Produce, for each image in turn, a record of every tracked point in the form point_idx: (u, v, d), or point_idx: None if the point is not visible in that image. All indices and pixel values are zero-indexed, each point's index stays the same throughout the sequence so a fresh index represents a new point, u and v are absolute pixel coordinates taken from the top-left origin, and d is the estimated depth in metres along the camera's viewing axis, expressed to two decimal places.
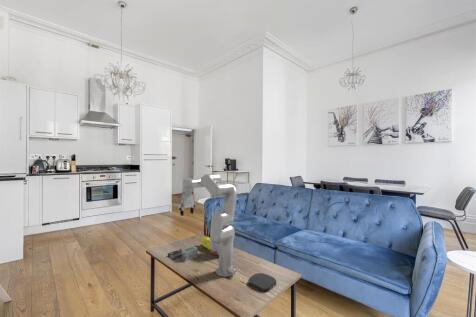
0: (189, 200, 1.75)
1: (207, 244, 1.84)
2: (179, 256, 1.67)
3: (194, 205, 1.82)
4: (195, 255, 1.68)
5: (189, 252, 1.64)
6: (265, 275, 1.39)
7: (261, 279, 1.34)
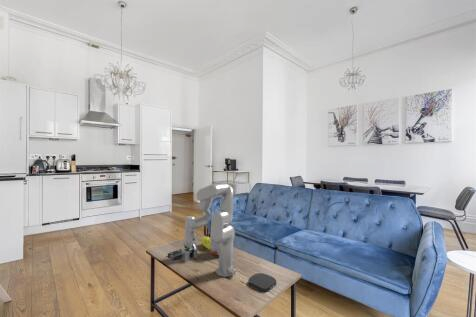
0: None
1: (207, 244, 1.85)
2: (179, 256, 1.67)
3: None
4: (195, 255, 1.68)
5: (189, 252, 1.64)
6: (265, 275, 1.39)
7: (261, 279, 1.34)
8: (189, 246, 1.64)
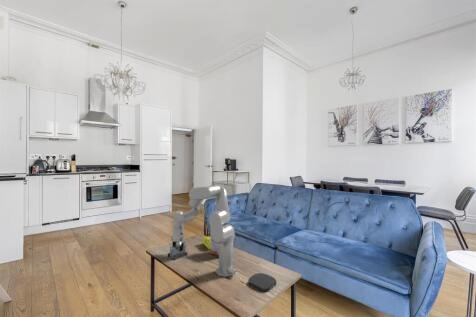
0: None
1: (207, 243, 1.86)
2: (179, 256, 1.67)
3: None
4: (183, 252, 1.72)
5: (177, 249, 1.68)
6: (265, 275, 1.39)
7: (261, 279, 1.34)
8: (177, 240, 1.68)
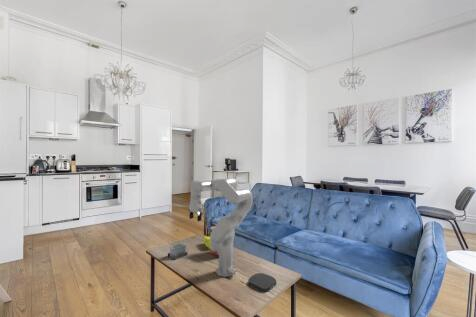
0: None
1: (207, 243, 1.87)
2: (179, 256, 1.67)
3: None
4: (183, 252, 1.72)
5: (177, 249, 1.68)
6: (265, 275, 1.39)
7: (261, 279, 1.34)
8: (195, 210, 1.62)
